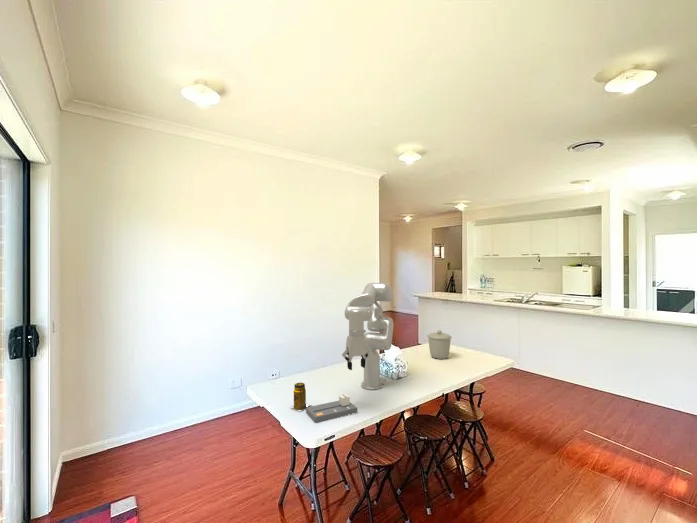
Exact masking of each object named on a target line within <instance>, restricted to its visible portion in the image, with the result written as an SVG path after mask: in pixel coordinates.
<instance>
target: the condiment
mask: <svg viewBox="0 0 697 523" xmlns="http://www.w3.org/2000/svg"><path fill="white" fill-rule="evenodd" d="M306 390H307V389H306V385H305V382H297V383H295V384H294V389H293V407H294V409H296V410H295V411H297V410H301V411H298V412H302V410H303V411H305V410H306V404H307V403H306V402H307V400H306V398H307V395H306V394H307V391H306ZM308 405H309V406H308V407H311V406H312V405H311V404H308ZM294 409H293V410H294ZM304 409H305V410H304Z"/></svg>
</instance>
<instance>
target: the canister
mask: <svg viewBox="0 0 697 523" xmlns="http://www.w3.org/2000/svg"><path fill="white" fill-rule="evenodd" d="M427 337H428V338H427V339H428V346H429V355H430V356H431V357H432V358H433V359H435V358H437V359H436V360H446V359H448V358H449V356H450V349H451V339H452V336H451V335H450V334H448V333H444V332H442V330H441V329H438V330H437V331H436V332H431V333H429V334H428V335H427Z"/></svg>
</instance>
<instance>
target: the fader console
mask: <svg viewBox="0 0 697 523" xmlns="http://www.w3.org/2000/svg"><path fill="white" fill-rule="evenodd" d="M356 412H357V413H358V407H357V406H356V405H354V404H353V403H352V402H351V401H350V405H346V406H341V405H340V404H339V400H335V401H331V402H330V401H329V402H326V403H321V404H315V405H311V407H306V409H305V413H306V415H307V416H308V417H309V418H310V420H312V421H313V422H314V423H315V424H317V423H321V422H325V420H326V421H330V420H334V419H338V418H341V416H342V417H346V416H349V415H348V414H350V415H353V414H352V413H355V414H357V413H356ZM345 415H346V416H345ZM337 417H338V418H337ZM333 418H334V419H333ZM329 419H330V420H329Z"/></svg>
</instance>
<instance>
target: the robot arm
mask: <svg viewBox="0 0 697 523" xmlns="http://www.w3.org/2000/svg"><path fill="white" fill-rule="evenodd" d="M393 299H394V291H393V288H392V287H391V286H390V285H389V284H387V283H385V282H369V283H367V284H366V285H365V287H364V288H363V291H362V293H361V294H360V295H358V296H356V297H354V298H352V299H351V300H349V302H348V303H347V306H346V307H345V310H344V318H345V319H346V320H347V321H348V335H347V338H346V341H345V342H346V343H345V350H344V351H343V353H341V356H342V357H343V358H344V360H346V361H347V362H346V365H347V369H348V370H350V371H352V370H353V362H352V359H353V358H354V357H361V358H360V367H361V368H363V382H361V383H360V386H361V388H363V389H365V390H369V391H370V390H372V391H374V390H375V391H376V390H380V389H382V388H383V382H387V381H388V379H387V377H381V372H380V370H381V361H380V360H381V357H380V354H379V352H378V351H389V350H390V349H391V348H392V345H393V344H392V343H393V337H394V336H393V333H394V320H393V318H392V317H390V316H385V315H384V316H383V311H384V309H383V307H382V306H381V304H380V303H379V302H391V301H393ZM365 322H366V323H367V324H366V329H367V330H368V331H369V332H367V331H366V329H364V328H365Z"/></svg>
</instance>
